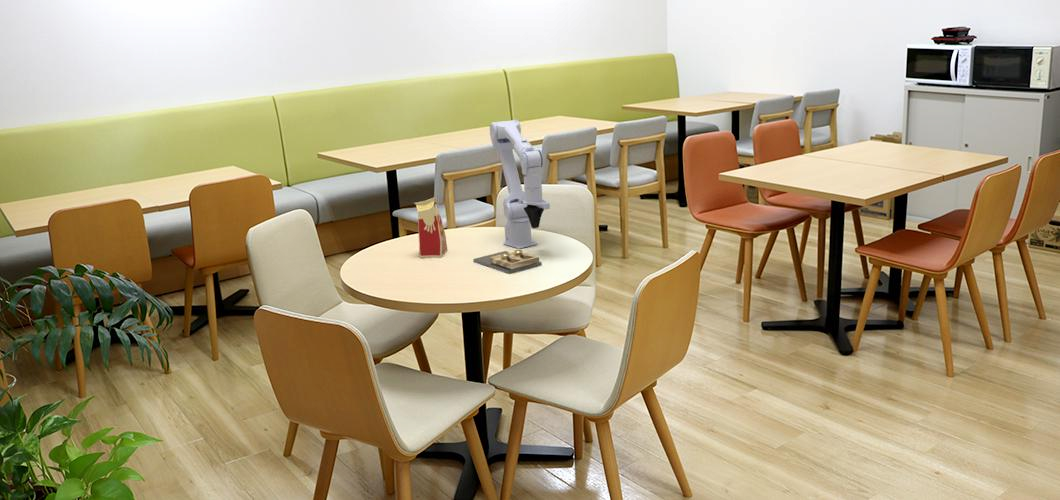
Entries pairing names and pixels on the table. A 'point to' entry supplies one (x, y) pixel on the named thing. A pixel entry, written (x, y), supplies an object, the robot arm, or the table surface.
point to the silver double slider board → (486, 259)
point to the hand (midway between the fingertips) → (535, 227)
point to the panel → (515, 260)
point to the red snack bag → (430, 230)
